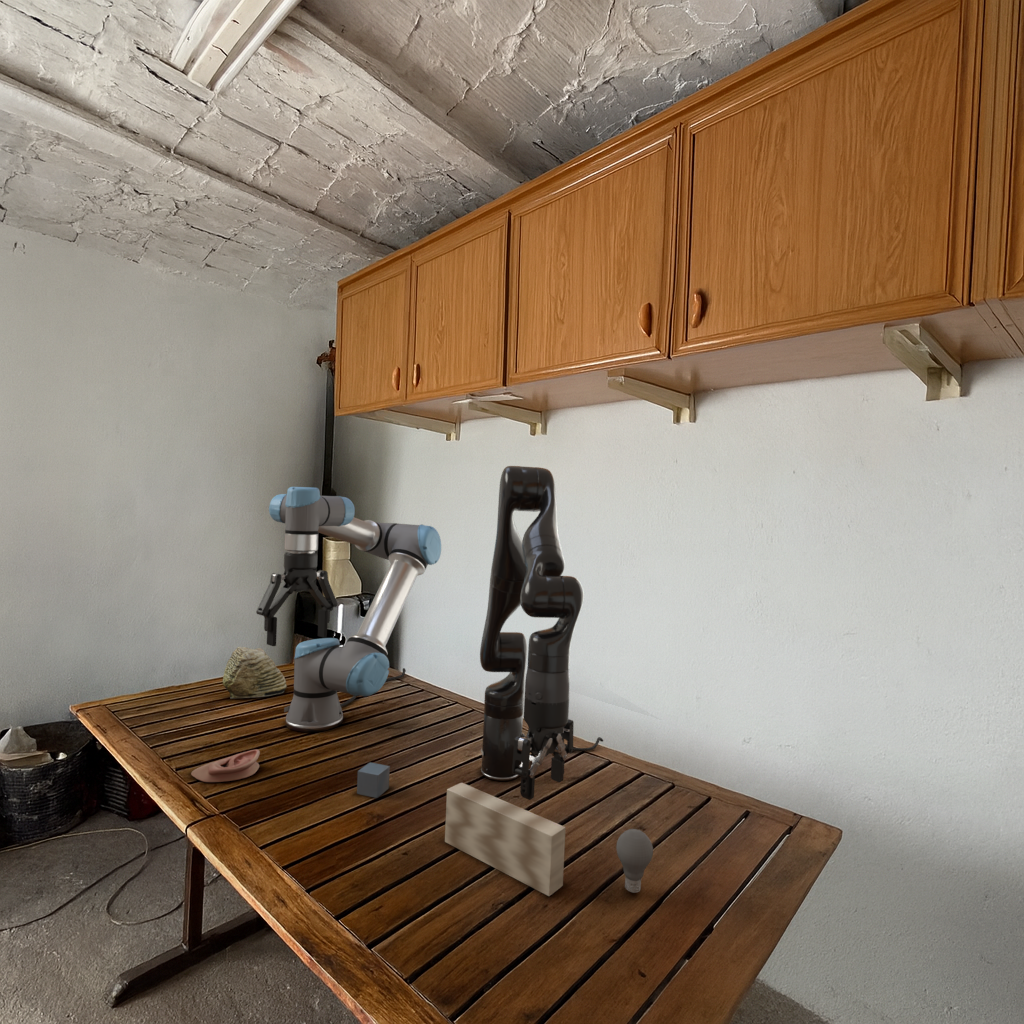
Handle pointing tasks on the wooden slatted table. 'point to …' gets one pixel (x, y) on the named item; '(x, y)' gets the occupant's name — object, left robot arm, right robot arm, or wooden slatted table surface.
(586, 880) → the wooden slatted table surface
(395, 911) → the wooden slatted table surface
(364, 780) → the slate cube
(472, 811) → the ash block
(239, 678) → the fossil
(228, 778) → the anatomical model
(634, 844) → the light bulb
